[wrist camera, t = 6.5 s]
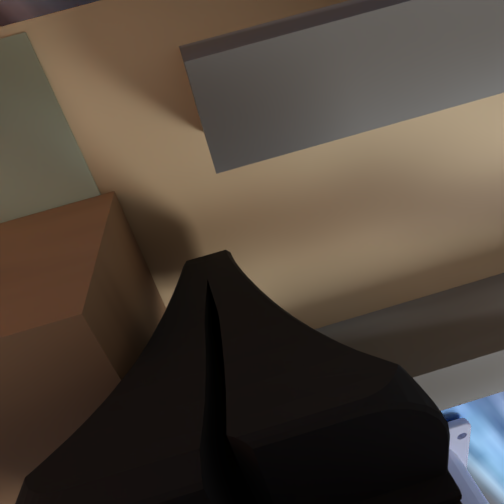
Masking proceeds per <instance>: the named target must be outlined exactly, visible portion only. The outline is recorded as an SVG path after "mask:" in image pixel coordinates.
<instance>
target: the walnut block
mask: <svg viewBox="0 0 504 504" xmlns="http://www.w3.org/2000/svg"><path fill="white" fill-rule="evenodd" d="M165 310H166V307H165V305H164V302H163V300H162V298H161V296H160V293H159V291H158V289H157V287H156V284H155V282H154V280H153V277H152V275H151V273H150V271H149V268H148V266H147V264H146V262H145V259H144V257H143V255H142V252H141V250H140V248H139V246H138V243H137V241H136V239H135V237H134V234H133V232H132V230H131V227H130V225H129V223H128V221H127V218H126V216H125V214H124V212H123V209H122V207H121V205H120V202H119V200H118V198H117V196H116V193H115V191H113V192H109V193H106V194H102V195H99V196H95V197H92V198H88V199H85V200H81V201H78V202H74V203H70V204H67V205H63V206H60V207H56V208H53V209H49V210H46V211H42V212H38V213H35V214H31V215H28V216H24V217H21V218H17V219H14V220H10V221H6V222H3V223H0V504H15V503H16V500H17V497H18V495H19V492H20V489H21V486H22V484H23V481H24V478H25V477H26V476H27V475H28V474H29V473H30V472H32V471H33V470H34V469H35V468H36V467H37V466H38V465H40V464H41V463H42V462H43V461H44V460H45V459H46V458H47V457H48V456H49V455H50V454H52V453H53V452H54V451H55V450H56V449H57V448H58V447H59V446H60V445H61V444H63V443H64V442H65V441H66V440H67V439H68V438H69V437H70V436H71V435H72V434H73V433H74V432H75V431H76V430H77V429H78V428H79V427H80V426H81V425H82V424H83V423H84V422H85V421H86V420H87V419H88V418H89V417H90V416H91V415H92V414H93V413H94V412H95V410H96V409H97V408H98V407H99V406H100V405H101V404H102V403H103V402H104V401H105V399H106V398H107V397H108V396H109V395H110V394H111V392H112V391H113V390H114V389H115V387H116V386H117V385H118V384H119V382H120V381H121V380H122V379H123V377H124V376H125V375H126V374H127V372H128V371H129V370H130V369H131V367H132V366H133V365H134V363H135V362H136V360H137V359H138V357H139V356H140V354H141V353H142V351H143V350H144V348H145V347H146V345H147V343H148V342H149V340H150V338H151V337H152V335H153V333H154V331H155V329H156V327H157V325H158V324H159V322H160V320H161V318H162V316H163V314H164V312H165Z"/></svg>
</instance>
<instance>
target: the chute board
mask: <svg viewBox="0 0 504 504" xmlns="http://www.w3.org/2000/svg"><path fill="white" fill-rule="evenodd" d="M113 191H115V193H116V196H117V198H118V200H119V202H120V205H121V207H122V209H123V212H124V214H125V216H126V218H127V221H128V223H129V225H130V227H131V230H132V232H133V234H134V237H135V239H136V241H137V243H138V246H139V248H140V250H141V252H142V255H143V257H144V259H145V262H146V264H147V266H148V268H149V271H150V273H151V275H152V277H153V280H154V282H155V284H156V287H157V289H158V291H159V293H160V296H161V298H162V300H163V302H164V305H165V307H166V308H167V306H168V303H169V301H170V299H171V297H172V295H173V292H174V290H175V287H176V285H177V282H178V280H179V277H180V274H181V272H182V269H183V266H184V264H185V262H186V261H188V260H191V259H195V258H198V257H202V256H205V255H209V254H212V253H216V252H219V251H223V250H227V251H229V252H231V255H232V257H233V259H234V260H235V262H236V263H237V265H238V266H239V267H240V268H241V270H242V271H243V272H244V273H245V274H246V276H247V277H248V278H249V279H250V280H251V281H252V282H253V283H254V284H255V285H256V286H257V287H258V288H259V289H260V290H261V291H262V292H263V293H264V294H266V295H267V296H268V297H269V298H270V299H271V300H273V301H274V302H275V303H276V304H277V305H279V306H280V307H281V308H283V309H284V310H285V311H287V312H288V313H290V314H291V315H292V316H294V317H295V318H297V319H298V320H300V321H301V322H303V323H305V324H306V325H308V326H309V327H311V328H313V329H315V330H317V331H319V332H320V333H322V334H324V335H326V336H328V337H330V338H332V339H334V340H336V341H338V342H340V343H342V344H344V345H346V346H349V347H351V348H353V349H355V350H358V351H361V352H364V353H367V354H370V355H372V356H375V357H378V358H381V359H384V360H387V361H390V362H393V363H396V364H399V365H400V366H401V367H402V368H404V369H405V370H406V371H407V373H408V374H409V375H410V376H411V377H412V378H413V379H414V380H415V381H416V382H417V383H418V384H419V385H420V386H421V387H422V389H423V390H424V391H425V392H426V393H427V394H428V395H429V397H430V398H431V399H432V400H433V402H434V403H435V404H436V405H437V407H438V408H439V410H440V411H441V410H444V409H448V408H451V407H454V406H457V405H461V404H464V403H467V402H470V401H473V400H477V399H480V398H483V397H486V396H490V395H493V394H496V393H499V392H503V391H504V0H100V1H96V2H92V3H89V4H85V5H81V6H77V7H73V8H70V9H66V10H62V11H58V12H54V13H51V14H47V15H43V16H39V17H36V18H32V19H28V20H24V21H20V22H17V23H13V24H9V25H5V26H2V27H0V223H3V222H6V221H10V220H14V219H17V218H21V217H24V216H28V215H31V214H35V213H38V212H42V211H46V210H49V209H53V208H56V207H60V206H63V205H67V204H70V203H74V202H78V201H81V200H85V199H88V198H92V197H95V196H99V195H102V194H106V193H109V192H113Z"/></svg>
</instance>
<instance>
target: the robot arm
mask: <svg viewBox="0 0 504 504" xmlns="http://www.w3.org/2000/svg"><path fill="white" fill-rule="evenodd" d="M470 432H471V425H470V423H469V422H468V421H467V420H466V419H465V418H459V419H456V420H452V421H449V422H447V421H446V420H445V418H444V416H443V414H442V413H441V411H440V410H439V408H438V407H437V405H436V404H435V403H434V402H433V400H432V399H431V398H430V397H429V395H428V394H427V393H426V392H425V391H424V390H423V389H422V387H421V386H420V385H419V384H418V383H417V382H416V381H415V380H414V379H413V378H412V377H411V376H410V375H409V374H408V373H407V371H406V370H405V369H404V368H402V367H401V366H400V365H399V364H396V363H393V362H390V361H387V360H384V359H381V358H378V357H375V356H372V355H370V354H367V353H364V352H361V351H358V350H355V349H353V348H351V347H349V346H346V345H344V344H342V343H340V342H338V341H336V340H334V339H332V338H330V337H328V336H326V335H324V334H322V333H320V332H319V331H317V330H315V329H313V328H311V327H309V326H308V325H306V324H305V323H303V322H301V321H300V320H298V319H297V318H295V317H294V316H292V315H291V314H290V313H288V312H287V311H285V310H284V309H283V308H281V307H280V306H279V305H277V304H276V303H275V302H274V301H273V300H271V299H270V298H269V297H268V296H267V295H266V294H264V293H263V292H262V291H261V290H260V289H259V288H258V287H257V286H256V285H255V284H254V283H253V282H252V281H251V280H250V279H249V278H248V277H247V276H246V274H245V273H244V272H243V271H242V270H241V268H240V267H239V266H238V265H237V263H236V262H235V260H234V259H233V257H232V255H231V252H229V251H227V250H223V251H219V252H216V253H212V254H209V255H205V256H202V257H198V258H195V259H191V260H188V261H186V262H185V264H184V266H183V269H182V272H181V274H180V277H179V280H178V282H177V285H176V287H175V290H174V292H173V295H172V297H171V299H170V301H169V303H168V306H167V308H166V310H165V312H164V314H163V316H162V318H161V320H160V322H159V324H158V325H157V327H156V329H155V331H154V333H153V335H152V337H151V338H150V340H149V342H148V343H147V345H146V347H145V348H144V350H143V351H142V353H141V354H140V356H139V357H138V359H137V360H136V362H135V363H134V365H133V366H132V367H131V369H130V370H129V371H128V372H127V374H126V375H125V376H124V377H123V379H122V380H121V381H120V382H119V384H118V385H117V386H116V387H115V389H114V390H113V391H112V392H111V394H110V395H109V396H108V397H107V398H106V399H105V401H104V402H103V403H102V404H101V405H100V406H99V407H98V408H97V409H96V410H95V412H94V413H93V414H92V415H91V416H90V417H89V418H88V419H87V420H86V421H85V422H84V423H83V424H82V425H81V426H80V427H79V428H78V429H77V430H76V431H75V432H74V433H73V434H72V435H71V436H70V437H69V438H68V439H67V440H66V441H65V442H64V443H63V444H61V445H60V446H59V447H58V448H57V449H56V450H55V451H54V452H53V453H52V454H50V455H49V456H48V457H47V458H46V459H45V460H44V461H43V462H42V463H41V464H40V465H38V466H37V467H36V468H35V469H34V470H33V471H32V472H30V473H29V474H28V475H27V476H26V477H25V478H24V481H23V484H22V486H21V489H20V492H19V495H18V497H17V500H16V503H15V504H489V503H488V501H487V500H486V498H485V497H484V495H483V493H482V492H481V490H480V489H479V487H478V486H477V484H476V483H475V481H474V480H473V478H472V477H471V475H470V473H469V472H468V470H467V460H468V451H469V442H470Z"/></svg>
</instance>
